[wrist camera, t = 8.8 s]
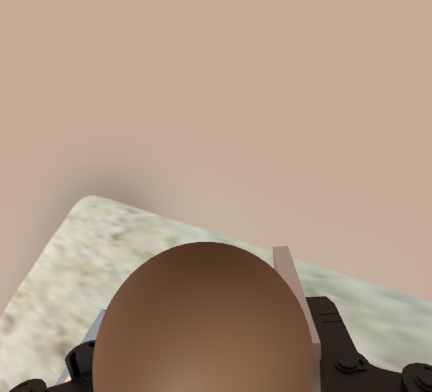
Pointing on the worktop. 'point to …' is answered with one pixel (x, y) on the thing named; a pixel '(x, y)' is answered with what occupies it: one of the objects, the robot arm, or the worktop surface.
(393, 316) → the worktop surface
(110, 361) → the post
